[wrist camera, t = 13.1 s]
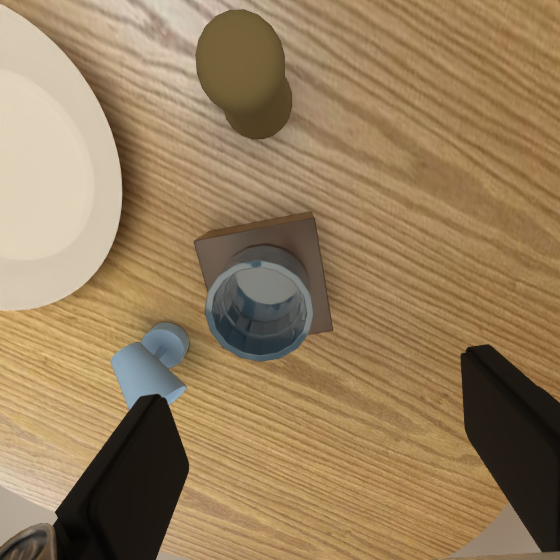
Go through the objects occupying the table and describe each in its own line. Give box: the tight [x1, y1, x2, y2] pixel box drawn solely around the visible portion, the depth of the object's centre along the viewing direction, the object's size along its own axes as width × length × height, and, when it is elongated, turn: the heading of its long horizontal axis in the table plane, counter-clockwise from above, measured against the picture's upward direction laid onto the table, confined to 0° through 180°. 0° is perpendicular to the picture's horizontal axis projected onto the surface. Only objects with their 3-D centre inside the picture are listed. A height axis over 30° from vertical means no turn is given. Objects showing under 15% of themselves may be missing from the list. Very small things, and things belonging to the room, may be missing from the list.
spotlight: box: [111, 322, 189, 410], centre depth 31 cm, size 5×10×7 cm
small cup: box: [205, 245, 314, 361], centre depth 25 cm, size 7×7×6 cm
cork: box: [196, 10, 292, 139], centre depth 23 cm, size 6×6×11 cm
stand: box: [194, 212, 333, 335], centre depth 30 cm, size 10×10×5 cm
